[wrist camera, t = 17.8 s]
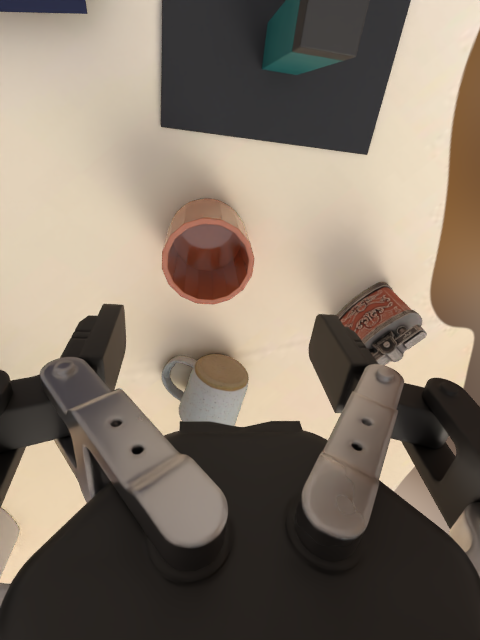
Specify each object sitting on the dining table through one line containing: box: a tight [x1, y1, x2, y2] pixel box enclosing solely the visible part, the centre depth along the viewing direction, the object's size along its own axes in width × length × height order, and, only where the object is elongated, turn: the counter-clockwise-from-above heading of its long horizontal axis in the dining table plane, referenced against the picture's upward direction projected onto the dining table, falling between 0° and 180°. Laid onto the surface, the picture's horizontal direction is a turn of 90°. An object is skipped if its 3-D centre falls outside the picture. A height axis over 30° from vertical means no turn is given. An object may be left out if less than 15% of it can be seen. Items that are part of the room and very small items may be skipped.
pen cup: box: [162, 198, 254, 304], centre depth 35 cm, size 8×8×8 cm
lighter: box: [336, 282, 427, 365], centre depth 40 cm, size 8×3×10 cm, turn 134°
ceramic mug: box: [162, 354, 248, 426], centre depth 45 cm, size 11×8×8 cm
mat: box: [161, 0, 411, 155], centre depth 30 cm, size 20×16×1 cm
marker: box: [262, 0, 369, 75], centre depth 24 cm, size 3×3×14 cm
